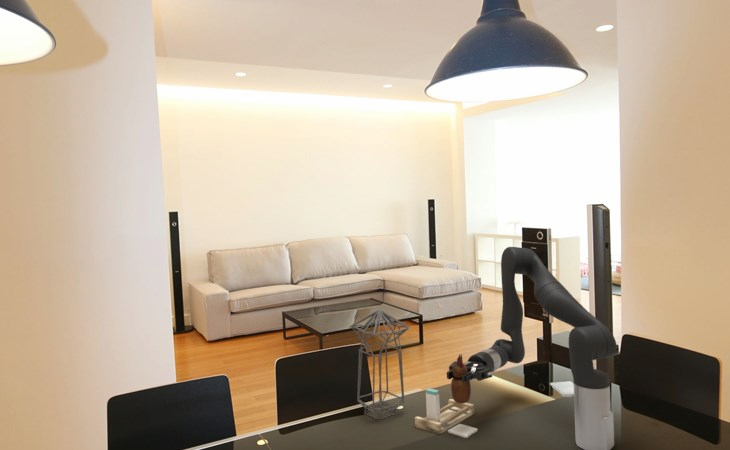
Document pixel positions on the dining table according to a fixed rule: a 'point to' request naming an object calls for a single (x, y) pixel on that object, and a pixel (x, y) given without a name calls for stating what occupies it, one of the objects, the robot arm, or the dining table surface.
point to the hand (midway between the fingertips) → (455, 377)
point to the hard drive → (564, 388)
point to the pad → (462, 430)
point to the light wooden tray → (446, 417)
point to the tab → (433, 405)
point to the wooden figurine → (460, 383)
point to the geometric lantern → (380, 358)
